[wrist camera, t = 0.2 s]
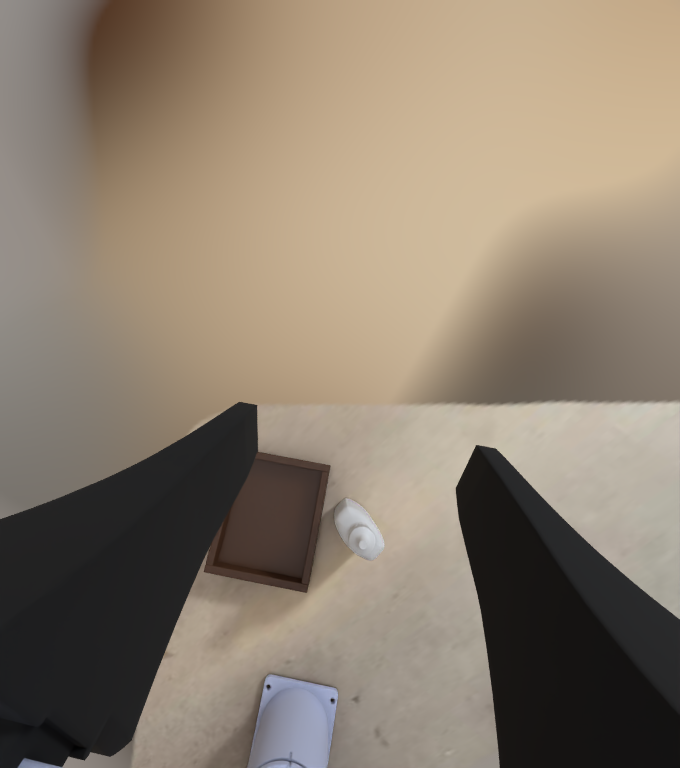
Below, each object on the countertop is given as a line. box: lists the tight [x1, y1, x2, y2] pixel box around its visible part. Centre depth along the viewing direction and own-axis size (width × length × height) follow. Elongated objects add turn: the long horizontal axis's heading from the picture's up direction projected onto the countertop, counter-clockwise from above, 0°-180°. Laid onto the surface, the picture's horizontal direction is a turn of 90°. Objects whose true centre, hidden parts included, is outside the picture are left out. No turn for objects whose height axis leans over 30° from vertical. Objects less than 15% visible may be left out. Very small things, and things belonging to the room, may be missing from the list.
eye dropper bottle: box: [334, 498, 384, 560], centre depth 32 cm, size 4×6×12 cm
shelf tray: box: [204, 452, 330, 593], centre depth 37 cm, size 14×12×3 cm
